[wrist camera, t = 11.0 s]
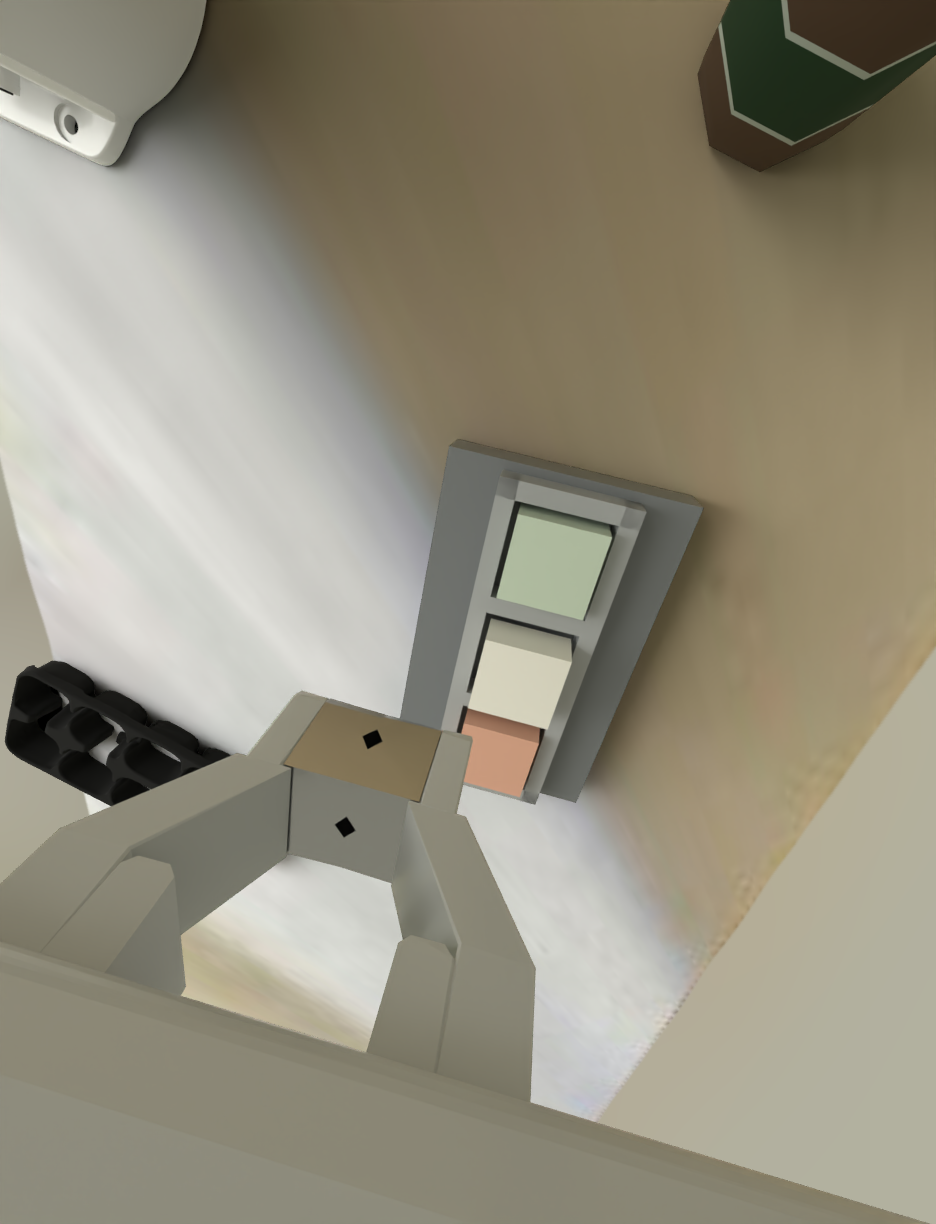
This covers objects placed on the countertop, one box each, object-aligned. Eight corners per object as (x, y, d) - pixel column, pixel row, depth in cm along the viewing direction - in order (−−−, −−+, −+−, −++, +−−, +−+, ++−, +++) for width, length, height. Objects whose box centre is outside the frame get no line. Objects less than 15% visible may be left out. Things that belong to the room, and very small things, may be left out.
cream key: (474, 683, 38) (467, 708, 35) (491, 618, 35) (485, 639, 32) (548, 703, 37) (547, 729, 35) (570, 638, 35) (571, 662, 32)
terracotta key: (456, 751, 43) (449, 777, 40) (470, 698, 40) (464, 723, 37) (522, 769, 42) (519, 797, 40) (540, 717, 40) (538, 743, 37)
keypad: (403, 730, 47) (386, 769, 42) (457, 439, 35) (442, 451, 30) (575, 776, 46) (576, 821, 42) (692, 495, 34) (712, 517, 29)
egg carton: (28, 639, 50) (-10, 660, 47) (317, 751, 50) (299, 778, 47) (40, 763, 58) (8, 787, 55) (288, 857, 59) (271, 887, 55)
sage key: (501, 579, 35) (496, 598, 32) (521, 501, 33) (518, 513, 30) (581, 600, 35) (582, 620, 32) (608, 522, 32) (612, 537, 30)
